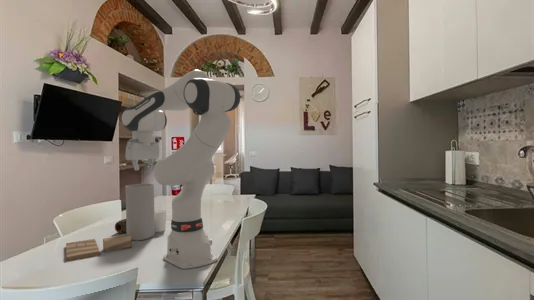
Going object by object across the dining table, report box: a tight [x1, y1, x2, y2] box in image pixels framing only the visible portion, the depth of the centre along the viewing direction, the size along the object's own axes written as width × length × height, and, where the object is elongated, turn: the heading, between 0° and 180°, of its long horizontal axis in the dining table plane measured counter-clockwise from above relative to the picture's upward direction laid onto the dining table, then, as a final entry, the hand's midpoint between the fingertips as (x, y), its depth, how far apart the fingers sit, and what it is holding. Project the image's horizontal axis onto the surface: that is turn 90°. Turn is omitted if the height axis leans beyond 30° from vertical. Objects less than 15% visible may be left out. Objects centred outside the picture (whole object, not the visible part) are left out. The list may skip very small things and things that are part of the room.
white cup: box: [154, 209, 167, 233], centre depth 157 cm, size 8×8×10 cm
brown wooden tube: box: [114, 218, 127, 234], centre depth 159 cm, size 15×7×7 cm, turn 164°
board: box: [65, 238, 100, 262], centre depth 127 cm, size 21×11×2 cm, turn 34°
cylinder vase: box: [125, 183, 156, 241], centre depth 146 cm, size 12×12×25 cm
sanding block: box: [102, 233, 132, 253], centre depth 129 cm, size 5×10×5 cm, turn 124°
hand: (143, 169), depth 138 cm, fingers open, 8 cm apart
